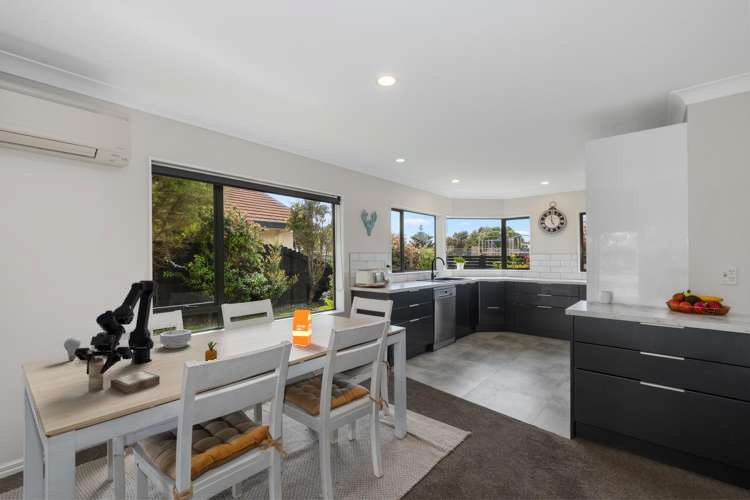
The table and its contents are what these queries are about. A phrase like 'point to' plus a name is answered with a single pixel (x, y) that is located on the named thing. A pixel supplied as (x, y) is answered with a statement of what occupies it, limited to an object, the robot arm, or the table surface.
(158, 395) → the table surface
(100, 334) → the medicine bottle
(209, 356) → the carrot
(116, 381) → the square tray
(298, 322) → the orange juice
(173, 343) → the paper bowls
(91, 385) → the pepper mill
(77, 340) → the lightbulb
